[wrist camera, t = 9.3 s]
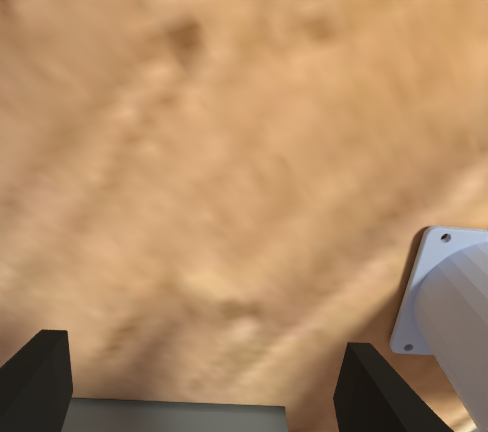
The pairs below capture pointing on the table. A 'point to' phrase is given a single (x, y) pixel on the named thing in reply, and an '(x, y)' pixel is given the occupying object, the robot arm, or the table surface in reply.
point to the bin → (170, 417)
